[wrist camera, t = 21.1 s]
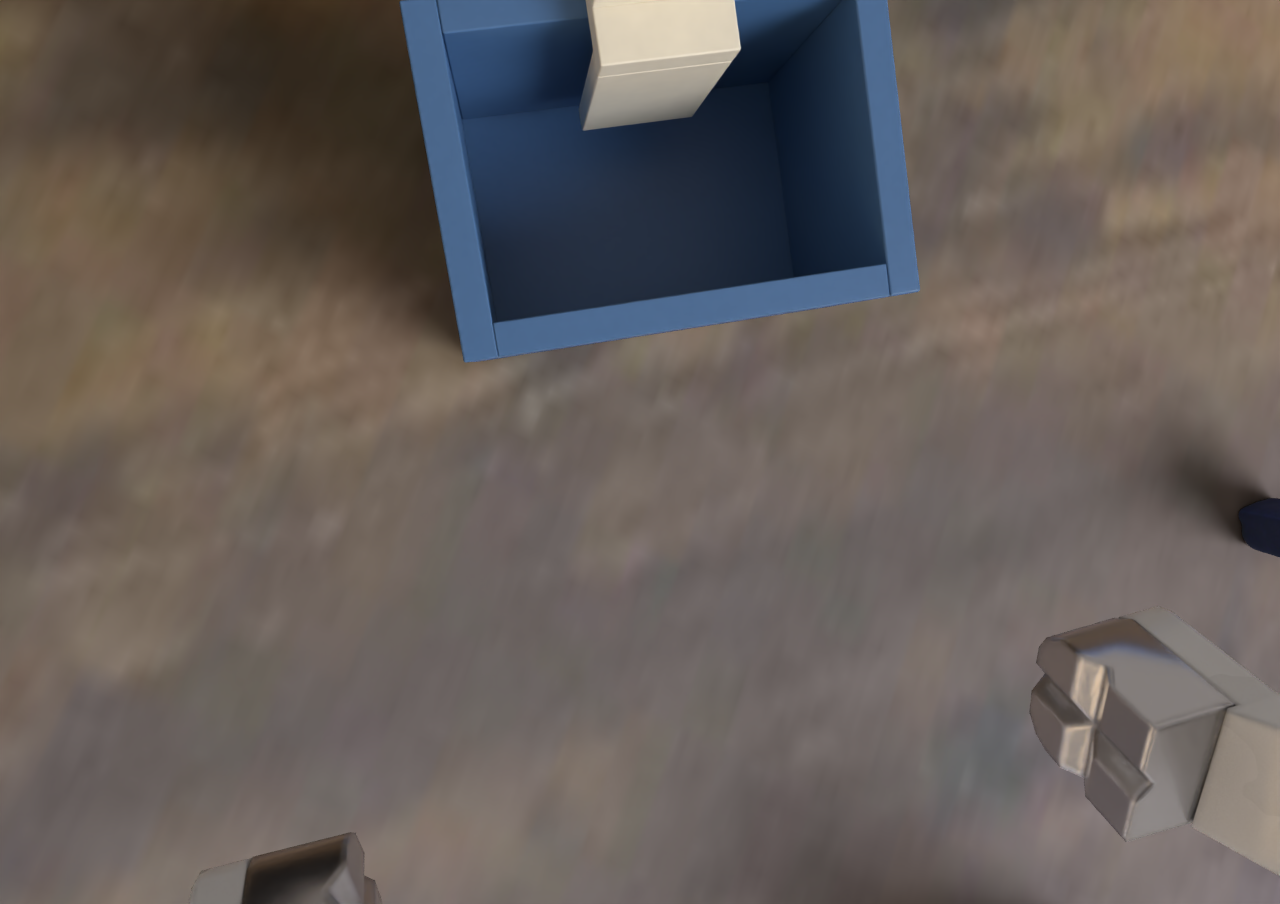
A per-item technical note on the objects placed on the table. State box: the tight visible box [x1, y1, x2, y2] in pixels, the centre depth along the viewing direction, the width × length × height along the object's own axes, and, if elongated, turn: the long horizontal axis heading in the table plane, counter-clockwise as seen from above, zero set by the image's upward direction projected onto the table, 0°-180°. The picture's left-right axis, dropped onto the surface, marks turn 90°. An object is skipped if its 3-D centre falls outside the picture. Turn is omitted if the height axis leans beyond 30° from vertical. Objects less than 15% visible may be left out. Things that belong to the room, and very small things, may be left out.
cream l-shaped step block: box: [579, 0, 741, 131], centre depth 26 cm, size 4×4×11 cm
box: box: [400, 0, 920, 362], centre depth 30 cm, size 14×10×10 cm
